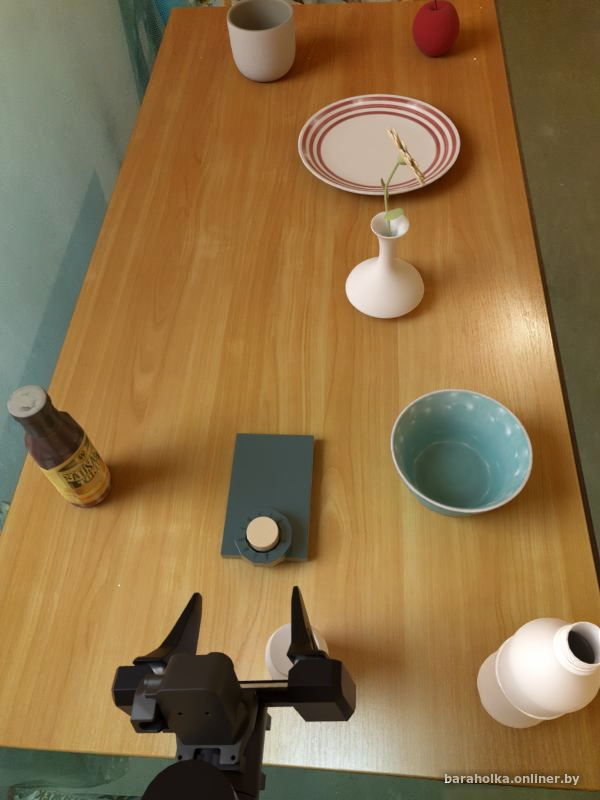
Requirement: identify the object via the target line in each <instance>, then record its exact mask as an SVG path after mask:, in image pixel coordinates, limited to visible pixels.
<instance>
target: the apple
mask: <svg viewBox="0 0 600 800" xmlns="http://www.w3.org/2000/svg"><path fill="white" fill-rule="evenodd" d="M457 11H458V10H457V9H456V7H455V5H454V4H453V3H452V2H450V1H447V0H431V1H428V2H426V3H424V4H423V5H422V6H421V7H420V8H419V9H418V11H417V12H416V13H415V16H414V19H413V22H412V26H411V27H412V29H411V30H412V33H411V34H412V37H413V41H414V43H415V45H416V47H417V48H418V49H419V51H420V52H421V53H422V54H424V55H425V56H428V57H439V56H442V55H444V54H445V53H447V52H449V51H450V50H451V49H452V48H453V46H454V44H455V43H456V41H457V39H458V36H459V34H460V28H461V27H460V26H461V23H460V17H459V13H458V12H457Z"/></svg>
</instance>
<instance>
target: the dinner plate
mask: <svg viewBox="0 0 600 800" xmlns="http://www.w3.org/2000/svg"><path fill="white" fill-rule="evenodd" d="M389 127H390V128H391V129H392V132H393V134H394V130H393V129H394V128H395V130H396V132H397V134H398V136H399V139H400V141H404V143H405V145H406V147H407V151H408V153H409V154H410V156H411V157H412V158H413V159H414V160H415V161H416V162H417V163H418V165H419V167H417V168H418V169H419V170H420V171H421V172H422V173H423V175H424V176H425V177H426V179H423V178H422V177H421V176H420V177H421V178H422V179H423V180H424V182H425V183H426V184H424V183H423V184H424V186H422V185H421V184H420V183H419V182H418V181H417V179H416V178H415V177H414V175H413V174H412V173H411V171H410V170H409V168H408V167H407V165H400V164H399V166H398V167H397V169H396V171H395V173H394V174H393V176H392V178H391V180H390V183H389V185H388V188H387V189H388V193H389V196H391V195H398V194H404V193H409V192H411V191H412V192H413V191H415V190H419V189H421V188H423V187H426V186H428V185H430V184H431V183H433V182H435V181H437V180H438V179H440V178H441V177H442V176H444V175H445V174H446V173H447V172H448V171H449V170H450V169H451V168H452V167H453V165H454V164H455V162H456V161H457V159H458V156H459V154H460V150H461V149H460V148H461V138H460V134H459V131H458V129H457V127H456V125H455V124H454V123H453V121H452V120H451V118H449V117H448V116H447V115H446V114H445V113H443V112H442V111H441V110H439V109H438V108H436V107H434V106H433V105H431V104H429V103H427V102H424V101H422V100H418V99H416V98H412V97H409V96H403V95H397V94H387V93H382V94H381V93H375V94H374V93H373V94H364V95H363V94H361V95H356V96H351V97H348V98H343V99H340V100H337V101H335V102H333V103H331V104H328V105H326V106H325V107H323V108H320V110H318V111H317V112H315V113H313V115H312V116H311V117H309V119H307V121H306V122H305V123H304V125H303V127H302V128H301V130H300V133H299V135H298V142H297V149H298V154H299V157H300V159H301V161H302V163H303V164H304V167H306V169H308V171H309V172H310V173H312V174H313V176H315V177H316V178H318V179H319V180H321V181H322V182H324V183H326V184H328V185H330V186H331V187H334V188H336V189H339V190H342V191H345V192H349V193H353V194H359V195H365V196H368V195H369V196H384V191H383V189H382V186H381V178H382V179H383V181H384V183H385V185H386V183H387V180H388V178H389V176H390V174H391V172H392V170H393V169H394V167H395V165H396V163H397V162H398V160H397V159H398V156H399V153H398V151H397V149H396V148H395V146H394V144H393V143H392V141H391V139H390V137H389V134H388V132H387V128H388V129H389Z"/></svg>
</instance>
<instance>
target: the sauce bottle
mask: <svg viewBox="0 0 600 800" xmlns="http://www.w3.org/2000/svg"><path fill="white" fill-rule="evenodd" d="M6 406H7V410H8V412H9V414H10V416H11V418H12V419H13V420H14V421H15V422H16V423H19V424H20V426H21V427H22V429H23V430H24V436H23V439H24V446H25V449H26V451H27V452H28V453H29V455H30V456H31V457H32V459H33V462H34V463H35V464H36V465H37V466H38V468H39V469H40V470H41V471H42V473H43V474H44V475H45V476H46V477H47V479H48V480H49V482H51V484H52V485H53V486H54V488H55V489H56V491H58V493H59V494H60V495H61V496H62V498H64V499H65V500H66V501H68V502H69V503H70V504H71V505H72V506H73V507H77V508H80V509H81V508H83V509H86V508H91V507H94V506H95V505H97V504H100V503H101V502H102V501H103V500H105V498H106V497H107V496H108V495H109V492H110V490H111V487H112V476H111V473H110V470H109V468H108V466H107V465H106V462H104V460H103V458H102V457H101V455H100V453H99V452H98V450H97V449H96V447H95V446H94V444H93V442H92V441H91V440H90V437H89V436H88V434H87V433H86V432H85V429H84V428H83V427H82V425H80V424H79V423H78V422H77V420H75V419H74V417H73V416H72V415H71V414H70V413H68V412H67V411H65V410H64V411H63V410H58V409H57V407H55V405H54V404H53V402H52V398H51V396H50V395H49V393H48V392H47V391H46V390H45V389H44V388H43V387H42V386H40V385H37V384H27V385H23V386H22V387H19V388H17V389H16V390H14V392H13V393H12V394H11V395H10V397H9V398H8V399H7V404H6Z"/></svg>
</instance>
